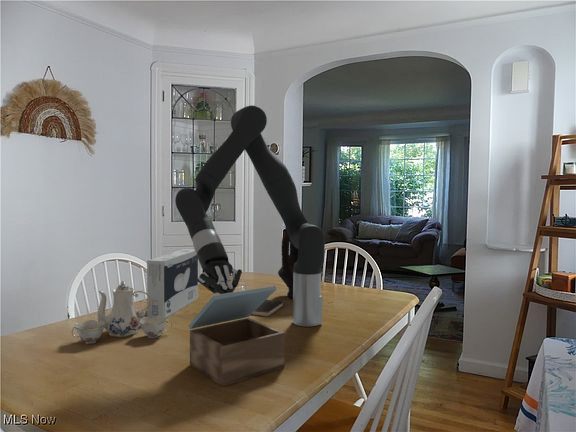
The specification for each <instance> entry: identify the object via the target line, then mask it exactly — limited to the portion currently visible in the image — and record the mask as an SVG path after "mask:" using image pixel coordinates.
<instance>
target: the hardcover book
mask: <svg viewBox="0 0 576 432" xmlns="http://www.w3.org/2000/svg"><path fill="white" fill-rule="evenodd" d="M284 304H285V303H284V301H283V300H275V299H274V300H273V299H266V300H265V301H264V302H263V303H262V304H261V305H260V306H259V307H258V308H257V309H256V310H255V311H254V312H253V313H252V314H251V315H255V316H261V317H262V316H264V317H268V316H270V315H271V314H273V313H275V312H276V311H277V310H279V309H280V308H281V307H283V306H284Z"/></svg>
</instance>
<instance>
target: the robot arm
mask: <svg viewBox="0 0 576 432" xmlns="http://www.w3.org/2000/svg"><path fill="white" fill-rule="evenodd" d="M267 123H268V118H267V115H266V113H265V111H264V109H263V108H261V107H260V106H257V105H254V104H253V105H246V106H244V107H242V108H240V109H239V110H237V111H235V112H234V113H233V114H232V116H231V119H230V127H231V129H232V131H231V133H229V135H228V136H227V138H226V139H225V140H224V142H222V144H221V145H220V146H219V147H218V148H217V149H216V151H214V153H213V154H211V156H210V157H209V158H208V159H207V160H206V162H205V163H204V164H203V166H202V167H201V168H200V170H199V171H198V173H197V174H196V176H195V177H194V178H195V179H194V181H195V186H196V188H195V189H194V188H191V187H184V188H180V190H179V191H178V192H177V193H176V195H175V200H174V201H175V202H174V203H175V206H176V209H177V210H178V213H179V214H180V217H181V218H182V220H183V222H184V223H185V225H186V228H187V231H188V233H189V237H190V238H191V242H192V245H193V249H195V252H196V255H197V257H198V263H199V264H200V267H201V269H202V273H200V275H198V279H197V281H198V284H200V285H201V286H203V287H204V288H206V289H207V290H208V291H210V292H212V293H213V294H217V293H218V294H226V293H232V292H235V289H236V288H237V287H238V285H239V283H240V280H241V279H240V278H241V276H242V272H243V270H242V269H240V268H239V269H238V270H237V269H236V268H234V267H233V265H232V264H231V263H230V262H229V256H228V254H227V252H226V249H225V247H224V245H223V242H222V240H221V238H220V236H219V234H218V232H217V230H216V228H215V226H214V224H213V221H212V219H211V218H210V217H209V215H208V214H207V212H208V210H209V208H210V207H211V204H212V202H213V199H214V196H215V194H216V190H217V189H218V187H219V186H220V185H221V183H222V182H223V181H224V179H225V177H226V176H227V175H228V173H229V171H231V169H232V167H233V166H234V165H235V163H236V162H237V160H238V159H239V158H240V157H241V155H242V154H243V152H244V151H245V153H246V154H247V156H248V157H249V159H250V161H251V163H252V165H253V168H254V169H255V172H256V173H257V175H258V177H259V179H260V181H261V183H262V185H263V187H264V189H265V191H266V192H267V195H268V196H269V198H270V199H271V202H272V203H273V206H274V207H275V209H276V210H277V213H278V214H279V215H280V218H281V219H282V222H283V224H284V227H285V228H286V229H287V232H288V234H289V237H290V239H291V242H292V244H293V245H294V246H295V247H296V248H297V249H298V260H297V262H296V263H295V264H294V274H293V298H292V323H293V324H294V326H299V327H315V326H320V325H322V324H323V295H322V293H321V292H322V290H321V289H322V277H321V271H322V268H323V265H324V261H325V247H326V245H325V243H326V241H325V239H326V238H325V233H324V231H323V229H322V228H321V227H319V226H317V225H315V224H310V222H309V221H308V220H307V218H306V216H305V214H304V213H303V211H302V209H301V206H300V203H299V198H298V192H297V186H296V184H295V181H294V179H293V178H292V176H291V174H290V172H289V170H288V168H287V166H286V164H284V162H283V161H282V160H281V159H280V158H279V157H278V156H277V155H276V154H275V153H274V152H273V151H272V150H271V149H270V148H269V146H268V145H267V143H266V142H265V139H264V137H263V135H262V132H263V131H264V130H265V128H266V127H267Z"/></svg>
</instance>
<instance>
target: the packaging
mask: <svg viewBox="0 0 576 432" xmlns="http://www.w3.org/2000/svg"><path fill="white" fill-rule="evenodd" d="M198 278H199V260H198V257H197V255H196V252H195V249H194V248H193V249H191V248H183V249H180V250H176V251H173V252H169V253H168V254H163V255H161V256H157V257H155V258H150V259H148V260H146V287H147V288H146V292H147V293H148V294H149V296H150V298H151V303H150V305H149V307H148V308H147V309H146V310H147V311H146V313H147V315H146V317H150V318H151V317H153V316H157V315H158V316H162V317H163V318H165V317H167V318H168V317H170V316H172V315H174V314H175V313H176V312H179V311H180V310H181V309H184V308H185V307H186V306H189V305H190V304H191V303H194V301H196V300H198V299H199V282H198V281H197V279H198ZM146 296H147V295H146ZM146 302H147V303H146V306H147V305H148V303H149V298H148V296H147V297H146Z"/></svg>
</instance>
